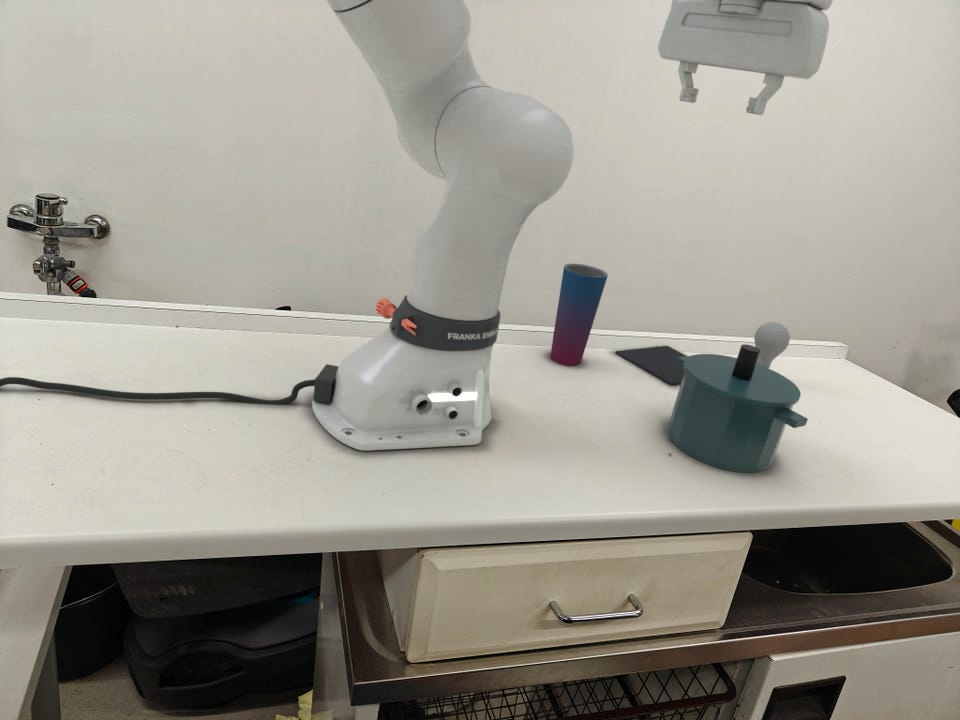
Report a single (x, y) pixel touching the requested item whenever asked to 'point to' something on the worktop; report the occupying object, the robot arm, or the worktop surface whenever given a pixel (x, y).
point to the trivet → (657, 362)
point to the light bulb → (771, 342)
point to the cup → (576, 311)
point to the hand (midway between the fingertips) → (719, 107)
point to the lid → (742, 378)
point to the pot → (727, 428)
